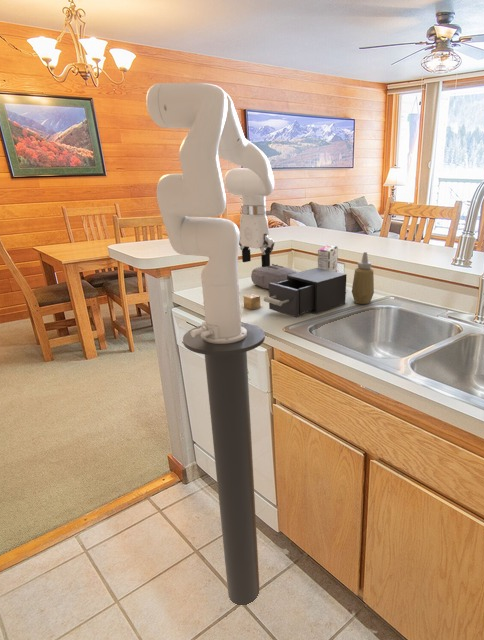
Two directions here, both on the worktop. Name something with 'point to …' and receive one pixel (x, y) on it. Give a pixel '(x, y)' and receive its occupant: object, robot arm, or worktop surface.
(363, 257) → the squeeze bottle
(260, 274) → the soft grey pack
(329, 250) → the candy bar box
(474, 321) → the worktop surface
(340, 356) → the worktop surface
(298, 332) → the worktop surface
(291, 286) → the grey drawer with handle
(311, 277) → the grey open box
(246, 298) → the block
